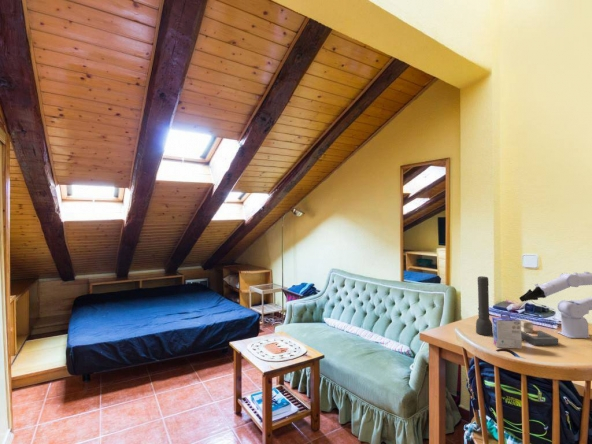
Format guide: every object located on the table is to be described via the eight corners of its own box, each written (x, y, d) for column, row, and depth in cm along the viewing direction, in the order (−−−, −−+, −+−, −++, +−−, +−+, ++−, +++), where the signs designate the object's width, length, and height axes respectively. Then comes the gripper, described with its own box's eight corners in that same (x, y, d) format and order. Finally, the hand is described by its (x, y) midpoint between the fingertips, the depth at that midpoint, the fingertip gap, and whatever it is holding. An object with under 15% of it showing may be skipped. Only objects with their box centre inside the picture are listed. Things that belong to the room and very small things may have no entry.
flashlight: (481, 330, 161) (473, 332, 158) (480, 275, 161) (471, 276, 158) (495, 334, 155) (487, 337, 152) (494, 277, 155) (485, 278, 152)
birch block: (526, 329, 161) (526, 319, 161) (532, 332, 157) (532, 322, 157) (517, 329, 161) (517, 319, 161) (523, 332, 157) (523, 322, 157)
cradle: (540, 337, 150) (540, 330, 150) (558, 345, 140) (558, 338, 140) (518, 337, 150) (518, 330, 150) (534, 345, 140) (534, 338, 140)
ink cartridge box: (516, 344, 142) (515, 312, 142) (522, 349, 137) (521, 315, 137) (492, 343, 144) (491, 311, 144) (497, 347, 139) (496, 314, 139)
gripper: (539, 282, 161) (513, 293, 163) (551, 277, 148) (523, 289, 150) (548, 295, 158) (522, 306, 160) (562, 291, 145) (533, 303, 147)
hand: (523, 298), depth 155 cm, fingers open, 7 cm apart
